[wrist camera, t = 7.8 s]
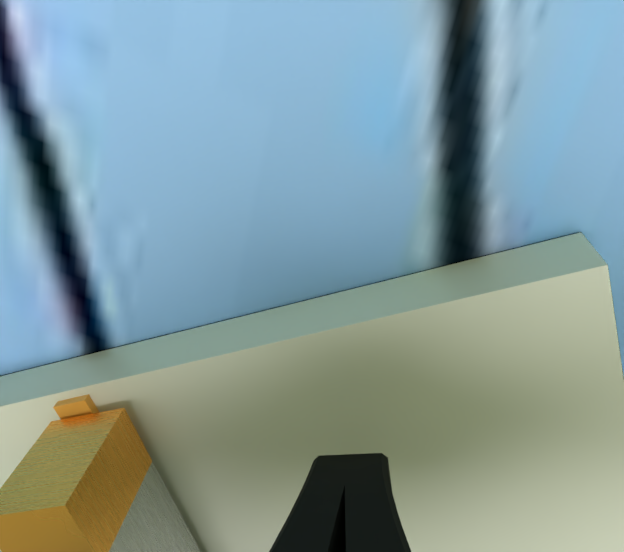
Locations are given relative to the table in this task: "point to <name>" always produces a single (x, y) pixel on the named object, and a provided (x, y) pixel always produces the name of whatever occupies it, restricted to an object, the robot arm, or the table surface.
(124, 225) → the table surface
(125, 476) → the dial
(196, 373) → the panel
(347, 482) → the robot arm
